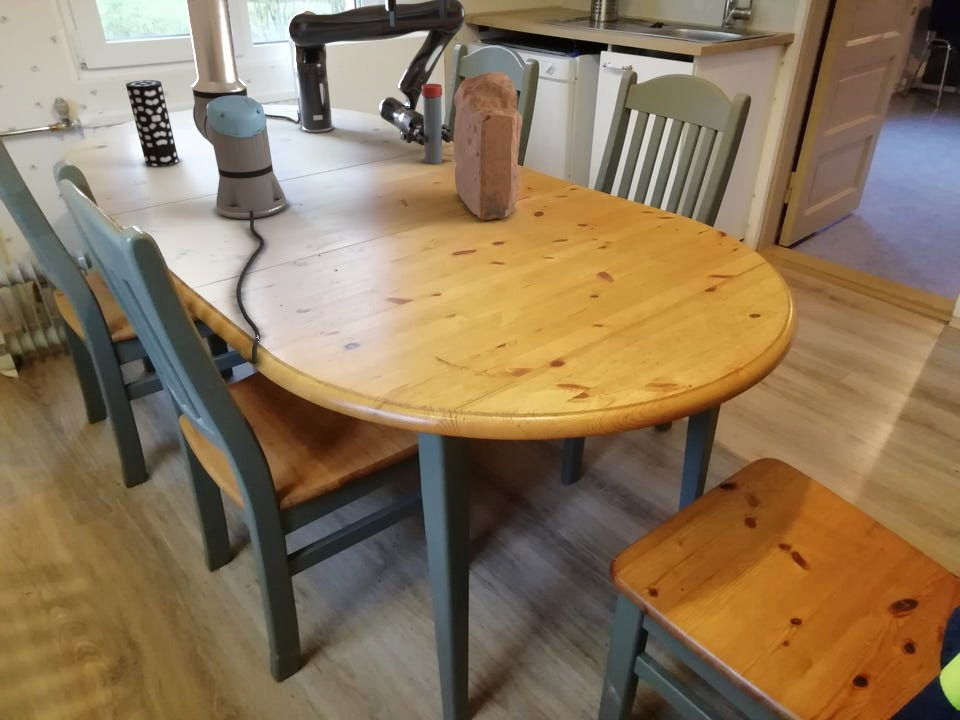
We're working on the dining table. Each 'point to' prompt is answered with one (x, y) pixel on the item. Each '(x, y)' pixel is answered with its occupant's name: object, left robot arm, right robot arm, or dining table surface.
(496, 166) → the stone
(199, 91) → the left robot arm
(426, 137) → the bottle
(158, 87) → the black white spotted cylinder
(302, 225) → the dining table surface
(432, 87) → the lid
